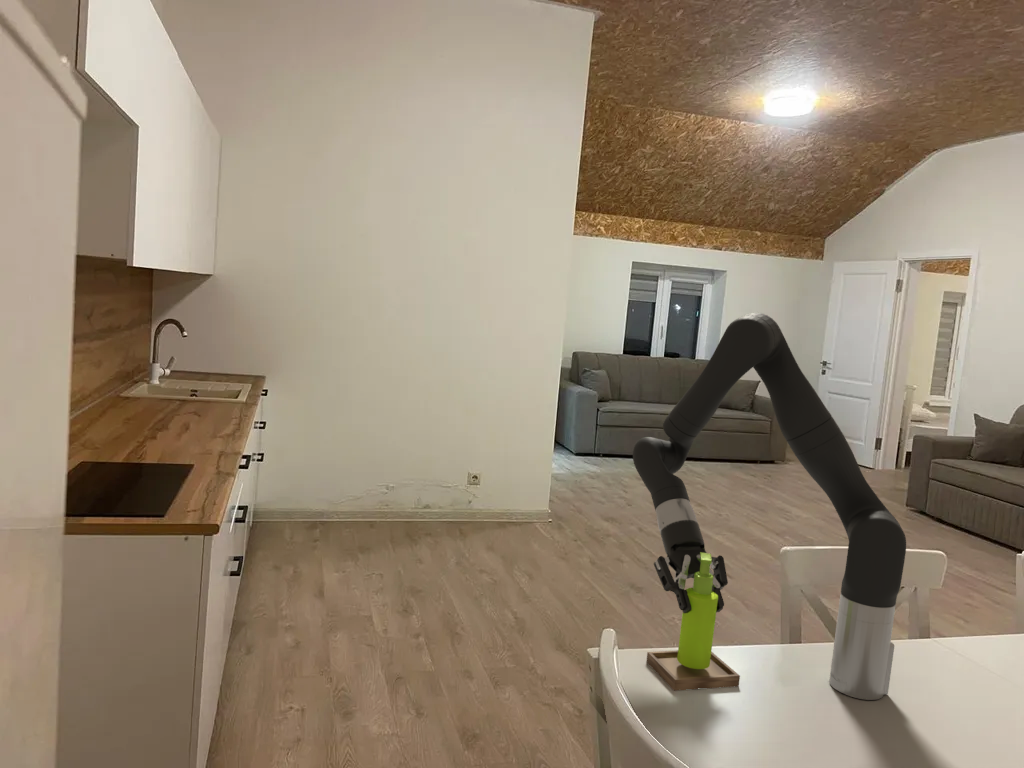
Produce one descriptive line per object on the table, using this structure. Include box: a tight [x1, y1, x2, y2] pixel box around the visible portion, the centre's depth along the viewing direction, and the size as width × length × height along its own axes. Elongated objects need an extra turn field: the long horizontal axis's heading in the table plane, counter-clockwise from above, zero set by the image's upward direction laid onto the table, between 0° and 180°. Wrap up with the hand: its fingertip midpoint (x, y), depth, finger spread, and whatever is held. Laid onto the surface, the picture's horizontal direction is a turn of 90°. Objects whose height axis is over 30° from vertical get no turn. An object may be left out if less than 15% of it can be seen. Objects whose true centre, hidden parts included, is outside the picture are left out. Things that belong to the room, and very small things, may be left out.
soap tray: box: [646, 649, 741, 692], centre depth 145 cm, size 13×11×2 cm
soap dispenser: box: [677, 552, 718, 669], centre depth 144 cm, size 6×7×20 cm
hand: (703, 610), depth 142 cm, fingers closed on soap dispenser, 6 cm apart
